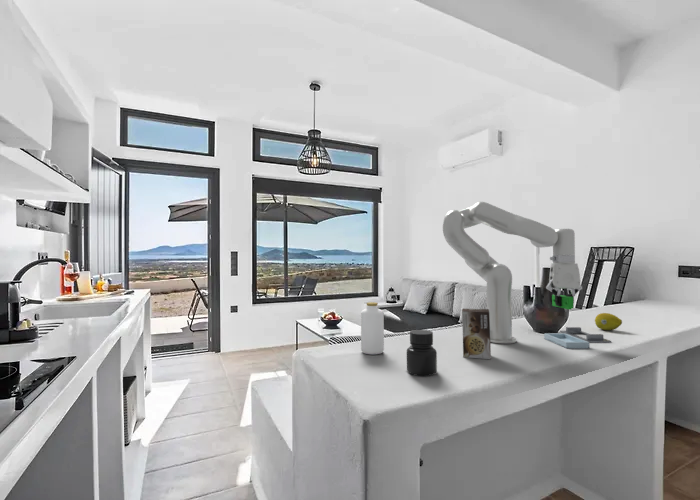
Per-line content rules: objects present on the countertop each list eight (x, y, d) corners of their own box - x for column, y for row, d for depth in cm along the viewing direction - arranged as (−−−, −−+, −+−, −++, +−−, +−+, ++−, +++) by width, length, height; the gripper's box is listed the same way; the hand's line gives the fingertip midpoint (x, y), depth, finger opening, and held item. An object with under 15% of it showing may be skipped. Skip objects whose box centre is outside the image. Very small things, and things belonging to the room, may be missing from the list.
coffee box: (490, 354, 124) (489, 308, 124) (491, 359, 118) (490, 311, 118) (462, 352, 127) (462, 307, 127) (462, 357, 121) (461, 310, 121)
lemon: (590, 329, 166) (589, 312, 166) (601, 327, 169) (601, 311, 169) (614, 333, 156) (613, 315, 156) (625, 332, 159) (625, 314, 159)
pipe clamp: (578, 309, 134) (578, 297, 134) (568, 309, 134) (568, 297, 134) (561, 305, 145) (561, 294, 145) (552, 305, 145) (551, 294, 145)
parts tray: (566, 348, 132) (566, 342, 132) (544, 338, 147) (544, 333, 147) (589, 348, 132) (589, 342, 132) (565, 338, 147) (565, 333, 147)
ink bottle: (444, 373, 104) (443, 333, 105) (422, 379, 100) (422, 336, 100) (420, 365, 113) (420, 327, 113) (399, 370, 108) (399, 331, 108)
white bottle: (387, 350, 130) (386, 302, 131) (379, 356, 123) (378, 304, 123) (366, 348, 134) (365, 301, 134) (357, 354, 126) (357, 303, 127)
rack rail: (588, 342, 140) (588, 336, 140) (559, 332, 160) (559, 326, 160) (611, 342, 140) (611, 335, 140) (579, 331, 160) (579, 326, 160)
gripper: (547, 259, 137) (548, 307, 136) (591, 259, 136) (591, 307, 136) (537, 259, 144) (538, 304, 144) (579, 259, 144) (579, 304, 143)
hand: (564, 305), depth 140 cm, fingers closed on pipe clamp, 3 cm apart
